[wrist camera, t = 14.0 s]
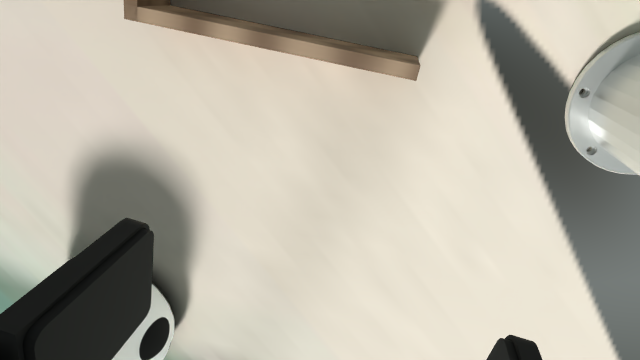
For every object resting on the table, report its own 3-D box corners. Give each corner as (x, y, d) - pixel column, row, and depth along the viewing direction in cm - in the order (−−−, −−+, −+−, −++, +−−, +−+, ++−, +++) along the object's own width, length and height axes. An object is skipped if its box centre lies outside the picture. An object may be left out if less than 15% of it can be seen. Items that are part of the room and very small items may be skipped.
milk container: (151, 366, 62) (64, 497, 45) (52, 300, 59) (-76, 414, 43) (206, 303, 54) (126, 434, 38) (96, 226, 52) (-39, 330, 36)
